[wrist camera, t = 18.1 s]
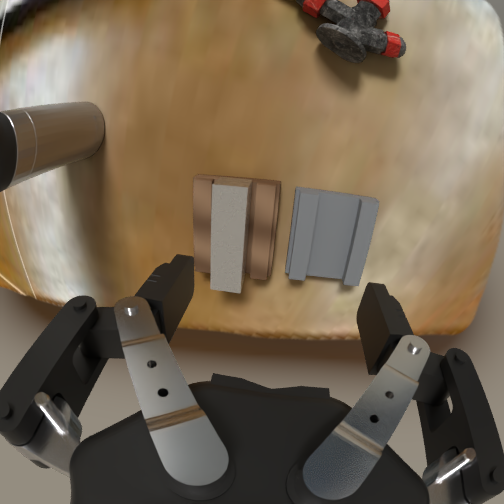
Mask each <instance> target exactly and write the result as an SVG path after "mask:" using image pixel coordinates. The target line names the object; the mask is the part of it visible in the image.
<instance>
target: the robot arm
mask: <svg viewBox="0 0 504 504" xmlns="http://www.w3.org/2000/svg"><path fill="white" fill-rule="evenodd" d="M104 128H105V127H104V119H103V116H102V114H101V112H100V110H99V109H98V107H97V106H95V105H94V104H93V103H90V102H72V103H58V104H48V105H39V106H32V107H25V108H18V109H13V110H7V111H2V112H0V192H1V191H3V190H5V189H7V188H10V187H12V186H14V185H16V184H19V183H21V182H23V181H25V180H28V179H30V178H32V177H35V176H37V175H40V174H42V173H45V172H48V171H50V170H53V169H56V168H58V167H61V166H64V165H67V164H70V163H73V162H76V161H79V160H82V159H85V158H88V157H90V156H92V155H93V154H94V153H95V152H96V151H97V150H98V148H99V147H100V145H101V143H102V140H103V136H104ZM193 292H194V258H193V257H192V256H186V255H180V254H177V255H176V256H175V257H174V259H173V260H172V261H171V263H170V264H169V263H164V264H162V265H160V266H159V267H157V268H156V269H155V270H154V271H153V273H152V274H151V275H150V276H149V278H148V279H147V280H146V282H145V283H144V284H143V285H142V287H141V288H140V289H139V290H138V292H137V293H136V294H135V296H130V297H125V298H123V299H121V300H119V301H118V302H117V303H116V304H115V306H114V307H97V306H96V302H95V300H94V299H93V298H92V297H89V296H77V297H74V298H72V299H71V300H69V301H68V302H67V303H66V304H65V305H64V307H63V308H62V309H61V310H60V311H59V313H58V314H57V315H56V316H55V317H54V319H53V320H52V321H51V322H50V323H49V325H48V326H47V327H46V328H45V330H44V331H43V332H42V333H41V335H40V336H39V337H38V339H37V340H36V341H35V343H34V344H33V345H32V346H31V348H30V349H29V350H28V352H27V353H26V354H25V356H24V357H23V359H22V360H21V361H20V363H19V364H18V365H17V367H16V368H15V370H14V371H13V372H12V374H11V375H10V377H9V378H8V380H7V382H6V383H5V384H4V386H3V387H2V389H1V390H0V434H1V435H2V436H4V437H5V439H6V440H7V441H8V442H9V443H10V444H11V445H12V446H13V447H14V448H15V449H16V450H18V451H19V452H20V453H21V454H22V455H23V456H25V457H26V458H28V459H30V460H31V461H32V462H33V463H35V464H36V465H37V466H39V467H41V468H52V469H54V470H56V471H58V472H60V473H62V474H64V475H66V476H68V477H70V481H71V502H70V504H482V503H484V502H485V501H487V500H489V499H491V498H493V497H494V496H496V495H498V494H499V493H501V492H502V491H503V490H504V453H503V449H502V445H501V441H500V438H499V434H498V431H497V428H496V424H495V421H494V418H493V415H492V412H491V409H490V406H489V403H488V400H487V398H486V395H485V392H484V390H483V387H482V385H481V382H480V380H479V377H478V375H477V372H476V370H475V368H474V365H473V363H472V361H471V359H470V357H469V356H468V355H467V354H466V353H465V352H464V351H462V350H460V349H457V348H451V349H449V350H448V351H447V353H446V354H445V356H442V355H438V354H435V353H432V352H430V348H429V346H428V344H427V343H426V342H425V341H424V340H423V339H421V338H420V337H418V336H415V335H414V334H413V332H412V329H411V327H410V325H409V323H408V320H407V318H405V314H404V312H403V309H402V307H401V305H400V303H399V302H398V301H397V300H396V299H395V298H394V297H393V296H390V295H389V293H388V291H387V289H386V286H385V285H384V284H379V283H371V282H369V283H368V284H367V286H366V289H365V291H364V294H363V297H362V300H361V303H360V305H359V308H358V311H357V325H358V329H359V333H360V337H361V342H362V346H363V350H364V355H365V360H366V364H367V369H368V374H369V375H377V376H376V377H375V378H374V380H373V381H372V383H371V384H370V386H369V387H368V388H367V390H366V391H365V393H364V394H363V395H362V396H361V398H360V399H359V400H358V402H357V403H356V404H355V406H354V407H353V408H351V407H350V406H348V405H347V404H345V403H344V402H342V401H340V400H337V399H335V398H332V397H330V394H329V388H317V387H305V386H298V387H289V388H278V389H270V388H267V387H264V386H261V385H258V384H256V383H253V382H250V381H247V380H245V379H242V378H237V377H231V376H225V375H220V374H215V373H213V375H212V379H211V381H205V382H197V383H192V384H189V385H188V384H187V382H186V380H185V378H184V376H183V374H182V372H181V370H180V368H179V366H178V364H177V362H176V360H175V357H174V356H173V353H172V351H171V349H170V347H169V342H170V341H171V339H172V337H173V335H174V332H175V331H176V329H177V327H178V325H179V323H180V321H181V319H182V317H183V315H184V313H185V311H186V309H187V307H188V305H189V303H190V301H191V299H192V296H193ZM109 358H125V359H126V362H127V366H128V370H129V373H130V376H131V379H132V383H133V386H134V389H135V392H136V395H137V398H138V401H139V404H140V407H141V410H140V411H138V412H137V413H135V414H133V415H131V416H129V417H127V418H125V419H123V420H121V421H120V422H118V423H116V424H114V425H112V426H110V427H108V428H106V429H104V430H102V431H100V432H98V433H96V434H94V435H92V436H90V437H88V438H86V439H85V440H83V441H82V442H81V443H80V437H81V434H82V425H81V423H80V421H79V419H78V417H79V415H80V413H81V410H82V408H83V406H84V404H85V402H86V400H87V398H88V396H89V395H90V392H91V391H92V388H93V387H94V385H95V383H96V381H97V379H98V377H99V375H100V374H101V372H102V370H103V368H104V366H105V364H106V362H107V360H108V359H109ZM449 396H450V397H451V400H452V404H453V410H452V413H451V412H450V409H449V405H448V402H447V398H448V397H449ZM411 399H413V400H416V402H417V406H418V411H419V416H420V422H421V427H422V433H423V438H424V445H425V452H426V459H427V467H426V468H425V470H424V472H423V476H422V479H421V478H420V476H419V475H418V474H417V473H415V472H414V471H413V470H412V469H411V468H410V467H409V466H408V465H407V464H406V463H405V462H404V461H403V460H402V459H401V458H400V457H399V456H398V455H397V454H396V453H395V452H394V451H393V450H392V449H391V448H390V447H389V445H388V444H387V442H388V441H389V439H390V438H391V436H392V434H393V433H394V431H395V429H396V427H397V426H398V424H399V422H400V420H401V418H402V417H403V415H404V413H405V411H406V409H407V407H408V405H409V403H410V401H411Z"/></svg>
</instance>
